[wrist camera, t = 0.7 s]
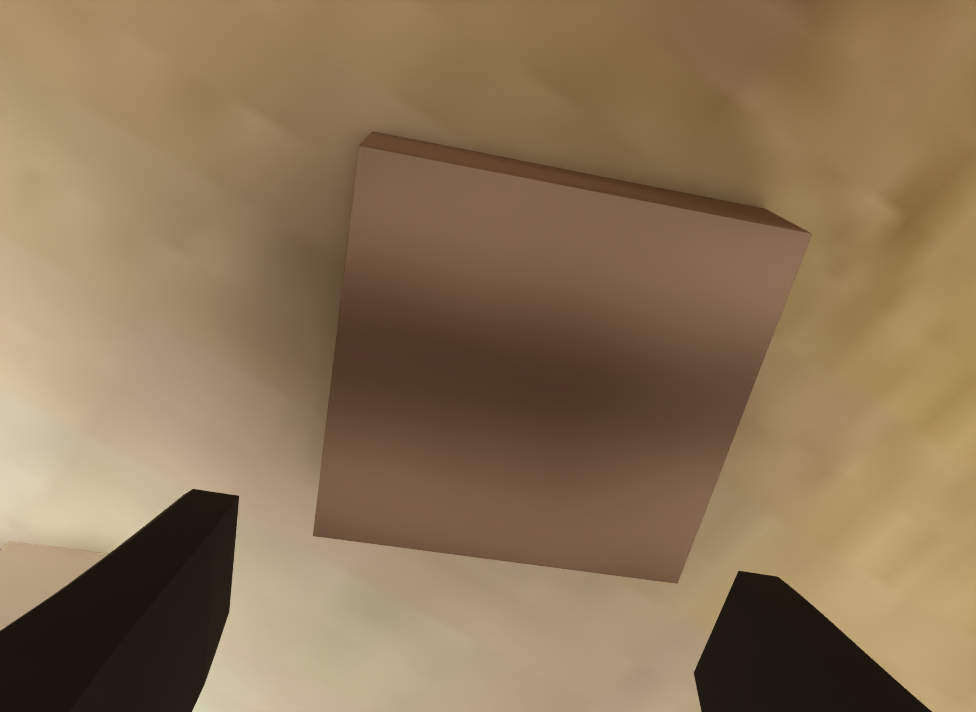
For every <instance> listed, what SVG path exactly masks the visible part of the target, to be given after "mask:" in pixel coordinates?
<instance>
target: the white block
mask: <svg viewBox="0 0 976 712" xmlns="http://www.w3.org/2000/svg"><path fill="white" fill-rule="evenodd" d="M107 555H108V554H105V553H97V552H89V551H81V550H73V549H65V548H57V547H49V546H41V545H33V544H25V543H17V542H8V543H7V544H6V545H5V546H4V547H3V548H2V549H1V550H0V630H2V629H3V628H5V627H6V626H8V625H9V624H11V623H12V622H14V621H15V620H17V619H18V618H20V617H21V616H23V615H24V614H26V613H27V612H28V611H30V610H31V609H33V608H34V607H36V606H37V605H39V604H40V603H42V602H43V601H45V600H46V599H48V598H49V597H51V596H52V595H54V594H55V593H56V592H58V591H59V590H61V589H62V588H63V587H65V586H66V585H68V584H69V583H70V582H72V581H73V580H74V579H76V578H77V577H78V576H80V575H81V574H82V573H84V572H85V571H86V570H88V569H89V568H91V567H92V566H93V565H95V564H96V563H97V562H99V561H100V560H101V559H103V558H104V557H105V556H107Z"/></svg>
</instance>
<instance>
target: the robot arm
mask: <svg viewBox="0 0 976 712" xmlns="http://www.w3.org/2000/svg"><path fill="white" fill-rule="evenodd" d="M238 503H239V496H236V495H229V494H223V493H216V492H209V491H203V490H196V489H192V490H191V491H189V492H188V493H186V494H185V495H183V496H182V497H181V498H179V499H178V500H177V501H176V502H174V503H173V504H172V505H171V506H169V507H168V508H167V509H166V510H164V511H163V512H162V513H161V514H159V515H158V516H157V517H156V518H154V519H153V520H152V521H151V522H149V523H148V524H147V525H146V526H144V527H143V528H142V529H140V530H139V531H138V532H137V533H135V534H134V535H133V536H132V537H130V538H129V539H128V540H126V541H125V542H124V543H122V544H121V545H120V546H119V547H117V548H116V549H115V550H113V551H112V552H111V553H109V554H108V555H107V556H105V557H104V558H103V559H101V560H100V561H99V562H97V563H96V564H95V565H93V566H92V567H91V568H89V569H88V570H86V571H85V572H84V573H82V574H81V575H80V576H78V577H77V578H76V579H74V580H73V581H72V582H70V583H69V584H68V585H66V586H65V587H63V588H62V589H61V590H59V591H58V592H56V593H55V594H54V595H52V596H51V597H49V598H48V599H46V600H45V601H43V602H42V603H40V604H39V605H37V606H36V607H34V608H33V609H31V610H30V611H28V612H27V613H26V614H24V615H23V616H21V617H20V618H18V619H17V620H15V621H14V622H12V623H11V624H9V625H8V626H6V627H5V628H3V629H2V630H0V712H192V710H193V708H194V706H195V704H196V702H197V699H198V697H199V695H200V693H201V691H202V688H203V686H204V684H205V681H206V678H207V676H208V673H209V670H210V667H211V664H212V661H213V658H214V655H215V653H216V650H217V647H218V644H219V641H220V638H221V635H222V632H223V629H224V626H225V623H226V620H227V617H228V614H229V608H230V596H231V584H232V573H233V561H234V550H235V538H236V526H237V515H238ZM694 676H695V681H696V686H697V691H698V696H699V701H700V706H701V711H702V712H932V711H930V710H929V709H928V708H927V707H926V706H925V705H923V704H922V703H921V702H920V701H919V700H918V699H917V698H915V697H914V696H913V695H912V694H911V693H910V692H909V691H907V690H906V689H905V688H904V687H903V686H902V685H901V684H900V683H898V682H897V681H896V680H895V679H894V678H893V677H892V676H891V675H889V674H888V673H887V672H886V671H885V670H884V669H883V668H882V667H880V666H879V665H878V664H877V663H876V662H875V661H874V660H873V659H872V658H870V657H869V656H868V655H867V654H866V653H865V652H864V651H863V650H862V649H860V648H859V647H858V646H857V645H856V644H855V643H854V642H853V641H852V640H851V639H849V638H848V637H847V636H846V635H845V634H844V633H843V632H842V631H841V630H839V629H838V628H837V627H836V626H835V625H834V624H833V623H832V622H831V621H829V620H828V619H827V618H826V617H825V616H824V615H823V614H822V613H820V612H819V611H818V610H817V609H816V608H815V607H814V606H813V605H811V604H810V603H809V602H808V601H807V600H806V599H804V598H803V597H802V596H801V595H800V594H799V593H797V592H796V591H795V590H794V589H793V588H791V587H790V586H789V585H787V584H786V583H785V582H784V581H782V580H781V579H780V578H778V577H776V576H769V575H763V574H756V573H749V572H743V571H738V574H737V576H736V578H735V580H734V583H733V585H732V587H731V590H730V592H729V594H728V596H727V599H726V601H725V603H724V605H723V608H722V610H721V612H720V614H719V617H718V619H717V621H716V624H715V626H714V628H713V630H712V633H711V635H710V637H709V639H708V642H707V644H706V646H705V649H704V651H703V653H702V655H701V658H700V660H699V662H698V664H697V667H696V669H695V671H694Z"/></svg>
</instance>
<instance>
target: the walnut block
mask: <svg viewBox="0 0 976 712" xmlns="http://www.w3.org/2000/svg"><path fill="white" fill-rule="evenodd" d="M811 235H812V234H811V233H810V232H808V231H806V230H804V229H802V228H800V227H798V226H796V225H795V224H793V223H791V222H789V221H787V220H785V219H783V218H781V217H779V216H778V215H776V214H774V213H772V212H770V211H768V210H766V209H763V208H757V207H752V206H747V205H742V204H737V203H732V202H727V201H722V200H717V199H712V198H707V197H702V196H697V195H691V194H686V193H681V192H676V191H671V190H666V189H661V188H656V187H651V186H646V185H641V184H636V183H631V182H625V181H620V180H615V179H610V178H605V177H600V176H595V175H590V174H585V173H580V172H575V171H570V170H565V169H559V168H554V167H549V166H544V165H539V164H534V163H529V162H524V161H519V160H514V159H509V158H504V157H499V156H493V155H488V154H483V153H478V152H473V151H468V150H463V149H458V148H453V147H448V146H443V145H438V144H433V143H427V142H422V141H417V140H412V139H407V138H402V137H397V136H392V135H387V134H382V133H377V132H373V133H372V134H371V135H370V136H369V137H368V138H366V139H365V140H364V141H363V142H362V143H361V144H360V145H359V151H358V160H357V168H356V176H355V185H354V193H353V202H352V210H351V219H350V227H349V236H348V244H347V253H346V261H345V270H344V278H343V287H342V295H341V303H340V312H339V320H338V329H337V337H336V346H335V354H334V363H333V371H332V380H331V388H330V397H329V405H328V413H327V422H326V430H325V439H324V447H323V456H322V464H321V473H320V481H319V490H318V498H317V507H316V515H315V524H314V532H313V536H318V537H325V538H333V539H341V540H348V541H356V542H364V543H371V544H379V545H387V546H394V547H402V548H410V549H417V550H425V551H432V552H440V553H448V554H455V555H463V556H471V557H478V558H486V559H494V560H501V561H509V562H517V563H524V564H532V565H539V566H547V567H555V568H562V569H570V570H578V571H585V572H593V573H601V574H608V575H616V576H623V577H631V578H639V579H646V580H654V581H662V582H669V583H678V580H679V578H680V575H681V573H682V570H683V567H684V565H685V562H686V560H687V557H688V554H689V552H690V549H691V547H692V544H693V541H694V539H695V536H696V534H697V531H698V528H699V526H700V523H701V521H702V518H703V515H704V513H705V510H706V508H707V505H708V502H709V500H710V497H711V495H712V492H713V489H714V487H715V484H716V482H717V479H718V476H719V474H720V471H721V469H722V466H723V464H724V461H725V458H726V456H727V453H728V451H729V448H730V445H731V443H732V440H733V438H734V435H735V432H736V430H737V427H738V425H739V422H740V419H741V417H742V414H743V412H744V409H745V406H746V404H747V401H748V399H749V396H750V393H751V391H752V388H753V386H754V383H755V380H756V378H757V375H758V373H759V370H760V367H761V365H762V362H763V360H764V357H765V354H766V352H767V349H768V347H769V344H770V341H771V339H772V336H773V334H774V331H775V328H776V326H777V323H778V321H779V318H780V315H781V313H782V310H783V308H784V305H785V302H786V300H787V297H788V295H789V292H790V289H791V287H792V284H793V282H794V279H795V276H796V274H797V271H798V269H799V266H800V263H801V261H802V258H803V256H804V253H805V250H806V248H807V245H808V243H809V240H810V237H811Z"/></svg>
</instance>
